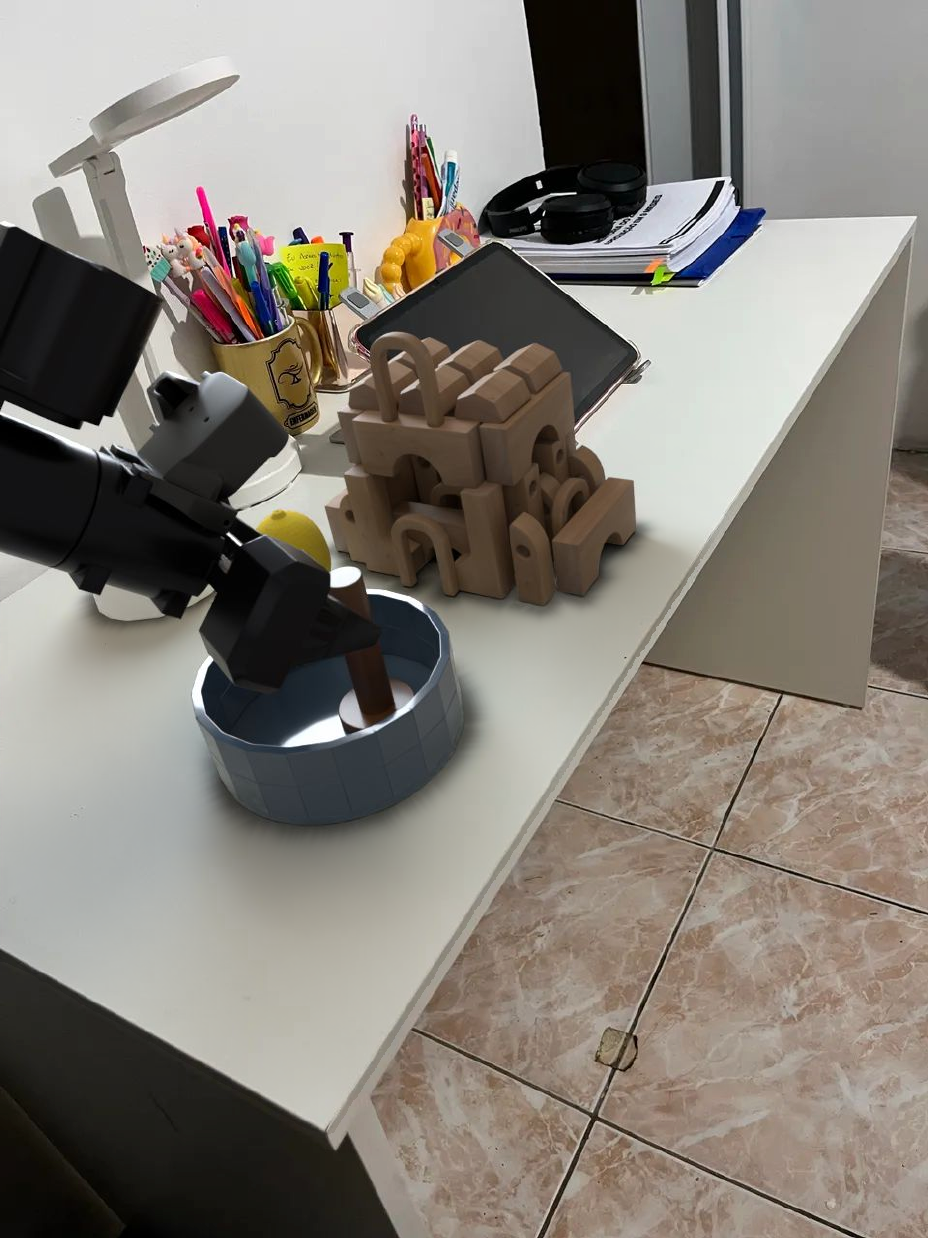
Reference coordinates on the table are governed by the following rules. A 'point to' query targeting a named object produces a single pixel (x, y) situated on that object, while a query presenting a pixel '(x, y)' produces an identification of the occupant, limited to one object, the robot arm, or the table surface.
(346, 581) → the brown wooden peg
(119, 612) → the teardrop
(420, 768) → the bowl
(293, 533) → the lemon
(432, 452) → the wooden puzzle
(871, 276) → the table surface
